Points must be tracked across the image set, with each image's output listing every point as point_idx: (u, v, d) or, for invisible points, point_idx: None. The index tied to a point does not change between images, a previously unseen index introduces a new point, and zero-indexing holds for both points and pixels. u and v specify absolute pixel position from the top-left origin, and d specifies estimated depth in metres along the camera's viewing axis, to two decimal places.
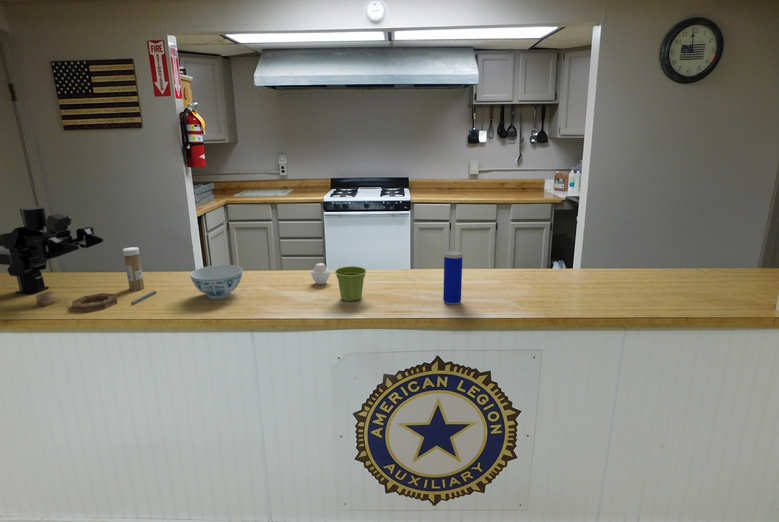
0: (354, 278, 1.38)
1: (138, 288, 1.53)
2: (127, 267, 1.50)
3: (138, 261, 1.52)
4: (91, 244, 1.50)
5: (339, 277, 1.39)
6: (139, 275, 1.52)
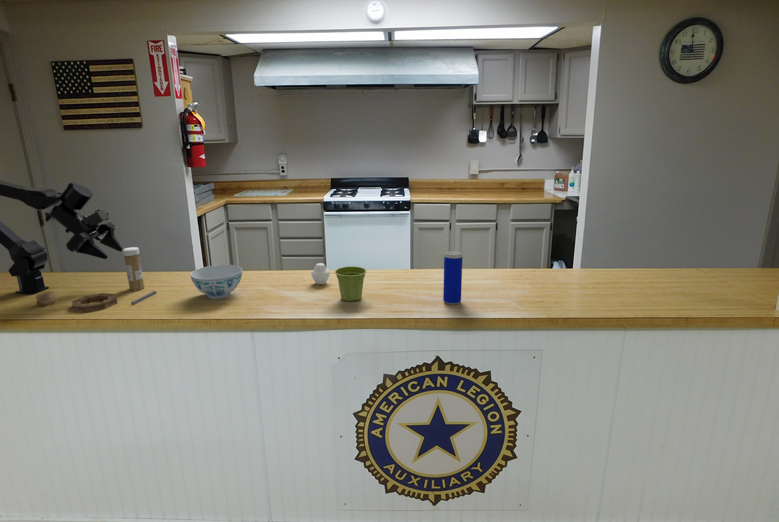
0: (354, 278, 1.38)
1: (138, 288, 1.53)
2: (127, 267, 1.50)
3: (138, 261, 1.52)
4: (107, 244, 1.55)
5: (339, 277, 1.39)
6: (139, 275, 1.52)
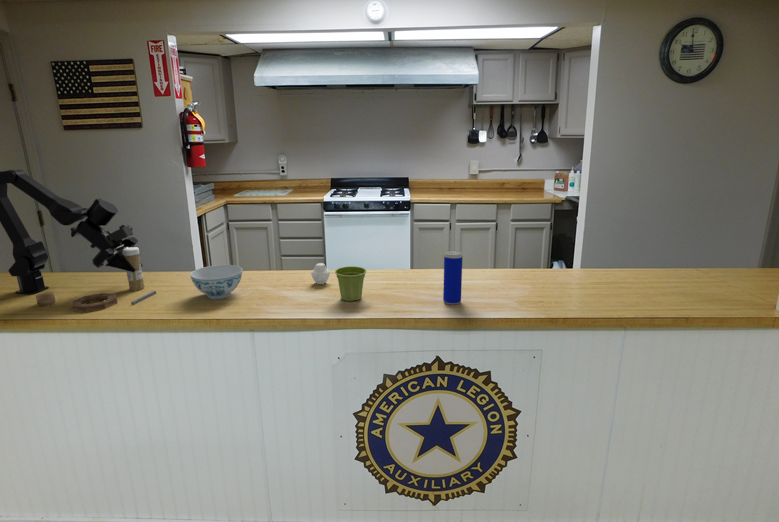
0: (354, 278, 1.38)
1: (138, 288, 1.53)
2: None
3: (138, 261, 1.52)
4: None
5: (339, 277, 1.39)
6: (139, 275, 1.52)
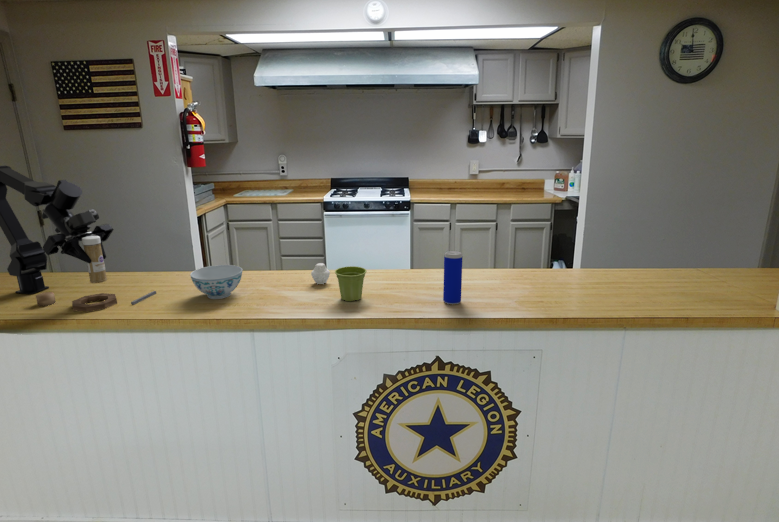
0: (354, 278, 1.38)
1: (96, 281, 1.39)
2: None
3: (97, 252, 1.37)
4: None
5: (339, 277, 1.39)
6: (97, 267, 1.38)
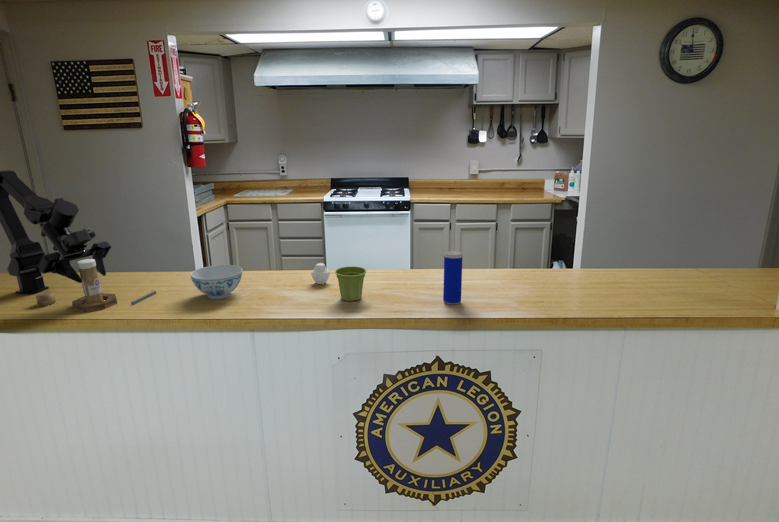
0: (354, 278, 1.38)
1: None
2: None
3: (92, 275, 1.37)
4: None
5: (339, 277, 1.39)
6: (93, 290, 1.38)
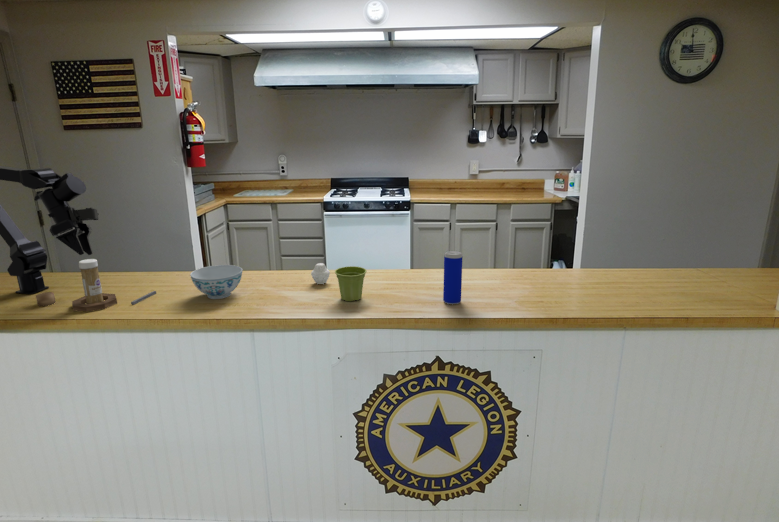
0: (354, 278, 1.38)
1: None
2: (82, 280, 1.37)
3: (93, 275, 1.37)
4: None
5: (339, 277, 1.39)
6: (94, 290, 1.38)
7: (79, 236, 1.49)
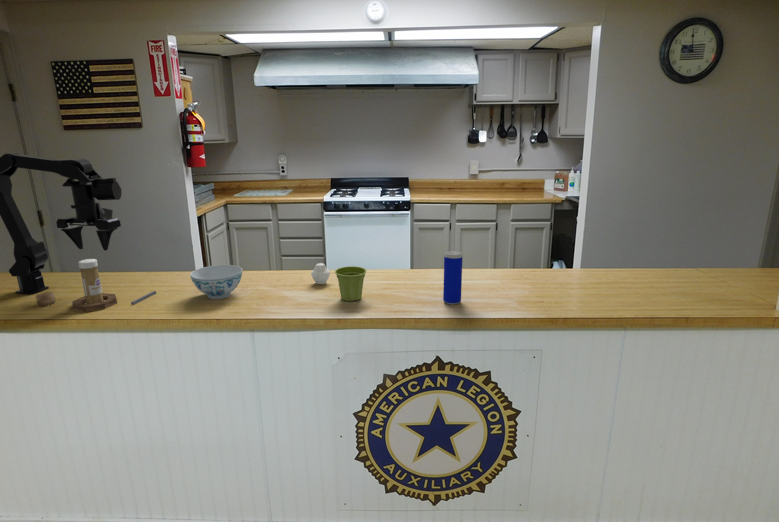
0: (354, 278, 1.38)
1: None
2: (82, 280, 1.37)
3: (93, 275, 1.37)
4: (73, 236, 1.50)
5: (339, 277, 1.39)
6: (94, 290, 1.38)
7: (75, 229, 1.51)
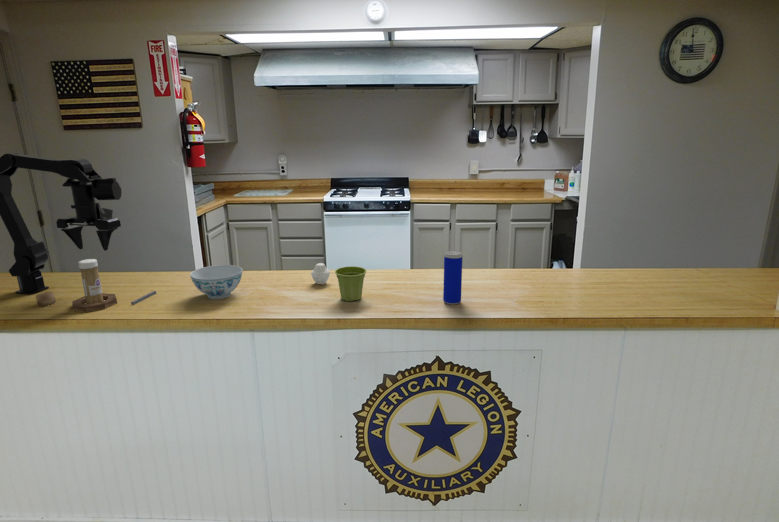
0: (354, 278, 1.38)
1: None
2: (82, 280, 1.37)
3: (93, 275, 1.37)
4: (73, 236, 1.50)
5: (339, 277, 1.39)
6: (94, 290, 1.38)
7: (75, 229, 1.51)
